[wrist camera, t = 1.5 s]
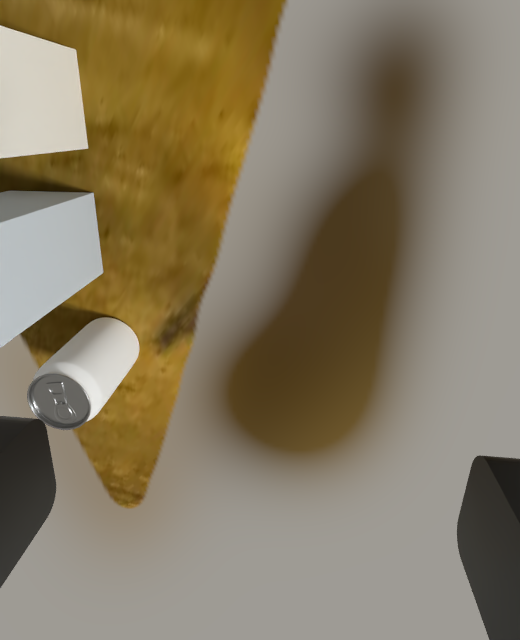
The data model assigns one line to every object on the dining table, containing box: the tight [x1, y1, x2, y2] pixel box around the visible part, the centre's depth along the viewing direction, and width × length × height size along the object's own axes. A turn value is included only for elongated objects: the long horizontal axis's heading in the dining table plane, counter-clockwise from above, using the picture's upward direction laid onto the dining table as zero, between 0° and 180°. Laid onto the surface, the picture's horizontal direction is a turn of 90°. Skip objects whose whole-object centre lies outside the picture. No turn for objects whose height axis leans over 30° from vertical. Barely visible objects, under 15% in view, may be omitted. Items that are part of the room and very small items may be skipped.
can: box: [27, 317, 139, 430], centre depth 46 cm, size 6×6×12 cm
